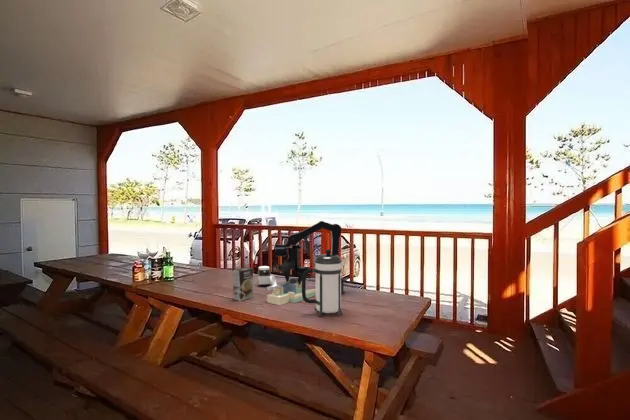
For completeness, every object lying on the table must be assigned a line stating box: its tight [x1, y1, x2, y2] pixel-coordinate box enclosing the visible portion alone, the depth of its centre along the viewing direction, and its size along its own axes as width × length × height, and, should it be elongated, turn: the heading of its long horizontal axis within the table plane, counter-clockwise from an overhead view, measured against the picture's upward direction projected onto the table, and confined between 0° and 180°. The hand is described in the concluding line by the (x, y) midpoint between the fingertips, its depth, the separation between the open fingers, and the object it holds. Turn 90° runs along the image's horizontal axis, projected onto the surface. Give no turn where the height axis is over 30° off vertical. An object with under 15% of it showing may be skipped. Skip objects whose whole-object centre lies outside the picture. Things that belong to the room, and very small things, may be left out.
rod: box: [265, 277, 298, 293], centre depth 179 cm, size 8×24×6 cm, turn 143°
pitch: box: [266, 282, 316, 306], centre depth 179 cm, size 16×28×5 cm, turn 143°
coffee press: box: [301, 248, 345, 318], centre depth 154 cm, size 17×16×30 cm
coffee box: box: [232, 267, 254, 302], centre depth 178 cm, size 9×6×16 cm
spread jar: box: [257, 265, 277, 288], centre depth 207 cm, size 12×11×12 cm
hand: (293, 283), depth 188 cm, fingers open, 9 cm apart
